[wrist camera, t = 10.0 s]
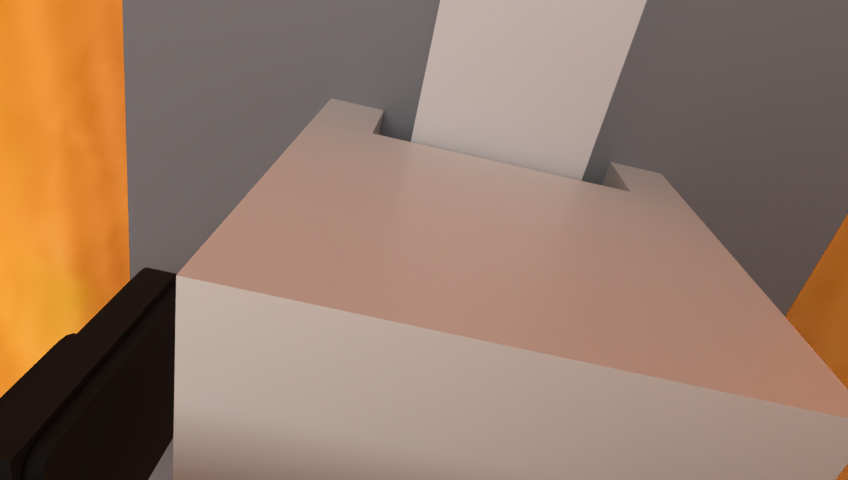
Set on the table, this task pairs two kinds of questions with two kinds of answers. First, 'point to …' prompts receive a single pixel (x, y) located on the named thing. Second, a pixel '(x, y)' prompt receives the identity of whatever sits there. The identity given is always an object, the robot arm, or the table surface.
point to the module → (482, 329)
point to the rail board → (502, 106)
